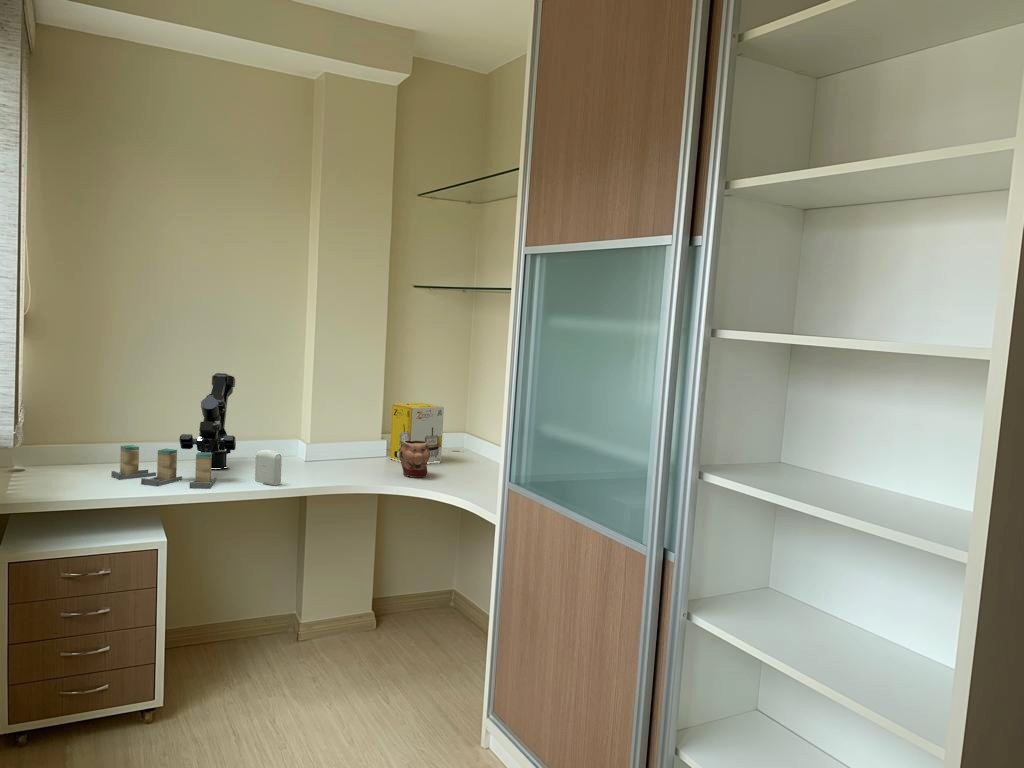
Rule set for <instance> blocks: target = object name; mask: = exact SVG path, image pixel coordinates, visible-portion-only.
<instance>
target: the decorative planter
mask: <svg viewBox="0 0 1024 768" xmlns="http://www.w3.org/2000/svg"><path fill="white" fill-rule="evenodd" d="M429 458H430V452H429V449H428V446H427V443H426V442H424V441H404V442H403V445H402V448H401V449H400V452H399V459H400V461H401V463H400V464H401V465H400V466H401V469H402V471H403V473H402V474H403V476H405V477H408V476H410V477H409V478H424V477H423V476H426V475H428V464H427V462H428V460H429ZM426 477H427V476H426Z"/></svg>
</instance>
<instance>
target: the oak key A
mask: <svg viewBox="0 0 1024 768" xmlns="http://www.w3.org/2000/svg"><path fill="white" fill-rule="evenodd" d="M119 459H120V460H119V463H120V464H119V472H120V473H121V474H122V476H124V475H134V474H138V470H140V468H139V467H140V465H139V464H140V463H139V460H140V446H138V445H134V444H127V445H120V458H119Z"/></svg>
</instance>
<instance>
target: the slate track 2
mask: <svg viewBox="0 0 1024 768" xmlns="http://www.w3.org/2000/svg"><path fill="white" fill-rule="evenodd" d="M179 480H180V481H182V480H183V476H179V475H178V476H176V478H172V479H168V480H164V481H160V480H157V476H153V477H151V478H147V477H142V478H140V481H141V482H140V484H141V485H142V486H143V485H144V486H153V487H162V486H164V485H168V484H172V483H175V482H179Z"/></svg>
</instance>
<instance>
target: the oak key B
mask: <svg viewBox="0 0 1024 768" xmlns="http://www.w3.org/2000/svg"><path fill="white" fill-rule="evenodd" d="M177 464H178V449H173V448H163V449H158V450H157V468H156V471H157V472H156V477H157V480H160V481H164V480H168V479H172V478H176V477H177V471H178V470H177V467H178V466H177Z"/></svg>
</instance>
